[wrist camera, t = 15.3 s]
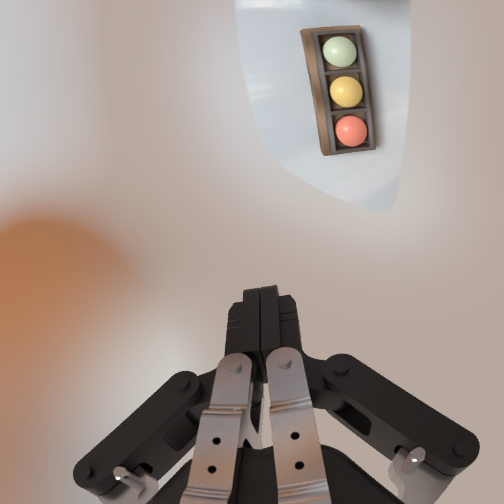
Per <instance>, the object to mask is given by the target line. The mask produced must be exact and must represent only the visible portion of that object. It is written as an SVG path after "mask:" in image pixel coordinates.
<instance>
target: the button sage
mask: <svg viewBox="0 0 504 504" xmlns="http://www.w3.org/2000/svg"><path fill="white" fill-rule="evenodd" d="M322 56H323V58H324V59H325V61H326V62H327V63H329V64H330V65H333V66H337V67H346V66H349V65H350V64H352V63H353V62H354V60H355V58H356V48H355V46H354V44H353V43H352V42H351V41H350V40H349V39H347V38H345V37H333V38H330V39H328V40H326V41H325V42H324V44H323V46H322Z"/></svg>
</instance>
